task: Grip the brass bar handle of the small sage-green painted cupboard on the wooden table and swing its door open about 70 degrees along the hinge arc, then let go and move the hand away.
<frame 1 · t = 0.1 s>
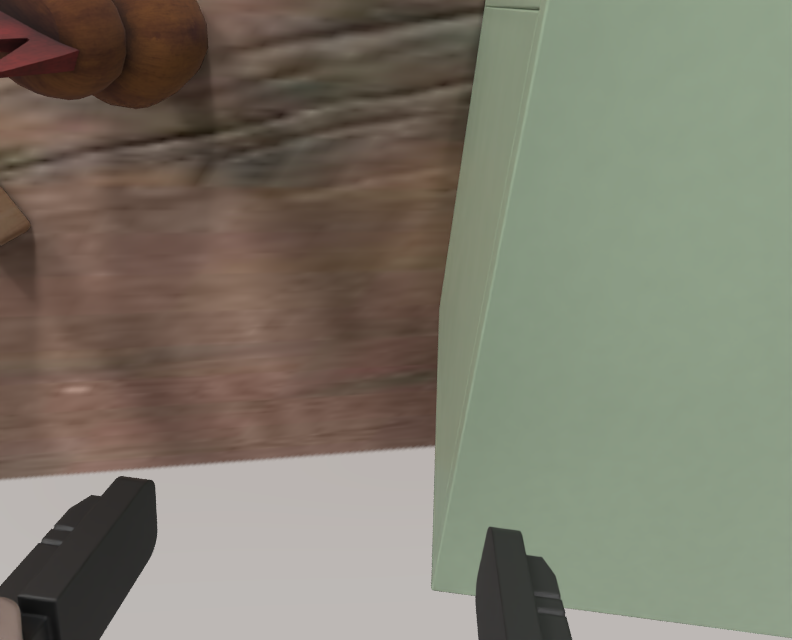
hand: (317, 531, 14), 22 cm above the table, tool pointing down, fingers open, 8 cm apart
cupboard: (568, 183, 31), on the table
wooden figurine: (164, 21, 29), on the table
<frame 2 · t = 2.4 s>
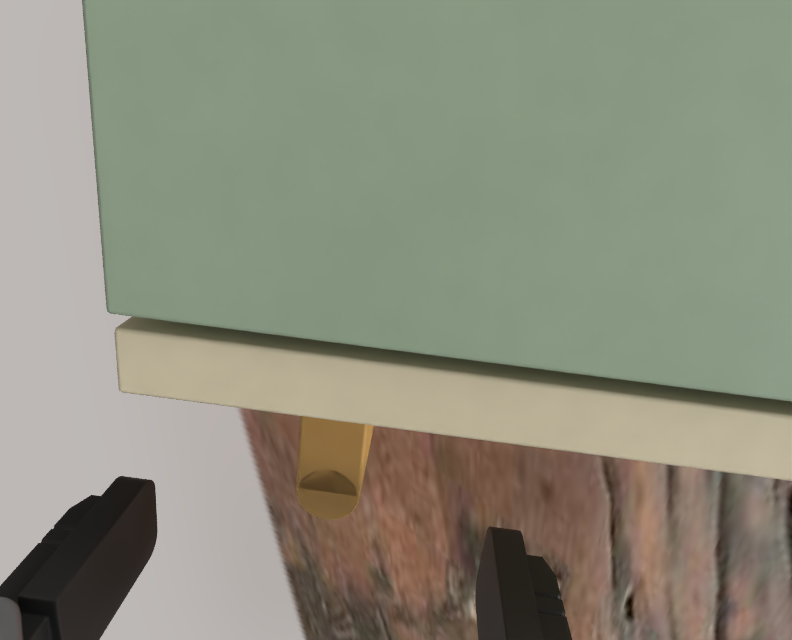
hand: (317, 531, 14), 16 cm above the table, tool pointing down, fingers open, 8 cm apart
cupboard: (564, 39, 23), on the table
cupboard door: (562, 349, 18), point 10 cm above the table, hinge at 0.0°
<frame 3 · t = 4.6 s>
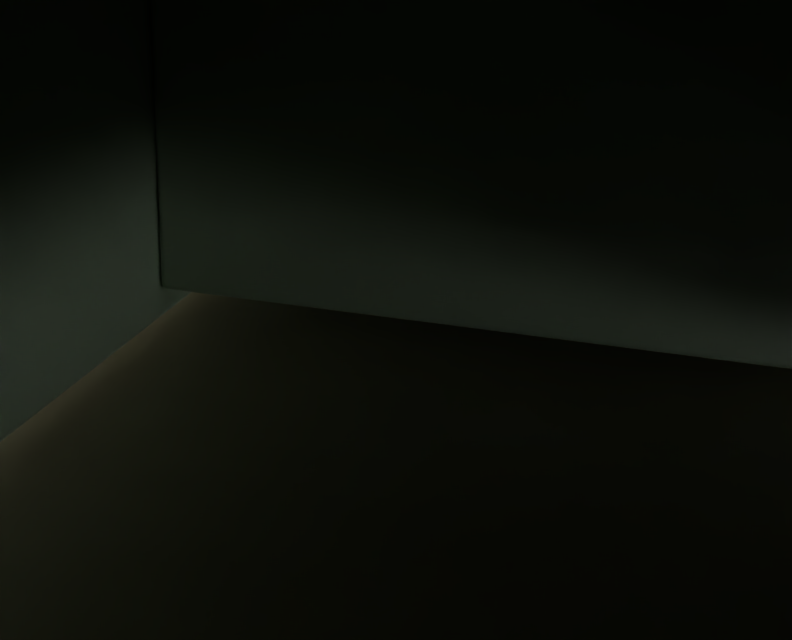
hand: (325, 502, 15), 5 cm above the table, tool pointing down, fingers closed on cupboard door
cupboard door: (686, 592, 9), point 10 cm above the table, hinge at 0.0°, touching gripper
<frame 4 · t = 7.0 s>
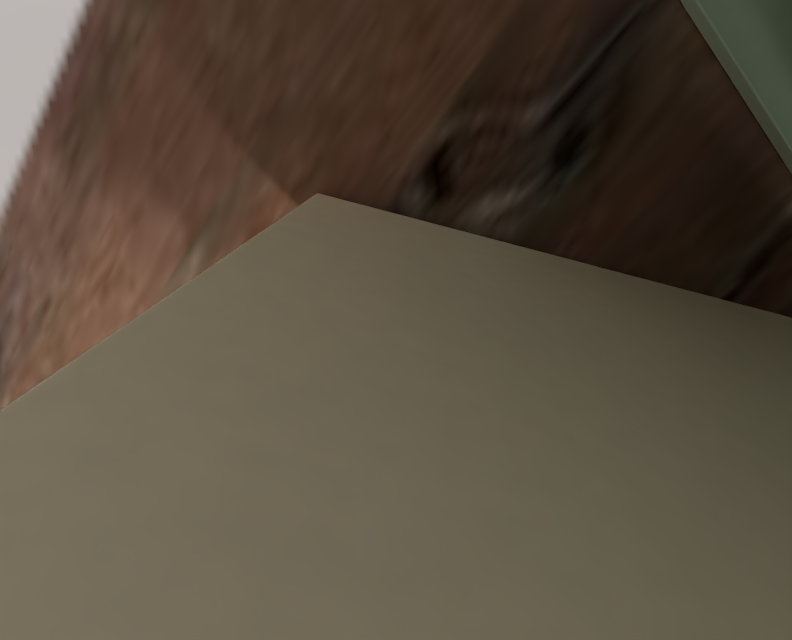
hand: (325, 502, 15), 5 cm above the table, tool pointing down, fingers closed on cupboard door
cupboard door: (691, 625, 9), point 10 cm above the table, hinge at 35.0°, touching gripper
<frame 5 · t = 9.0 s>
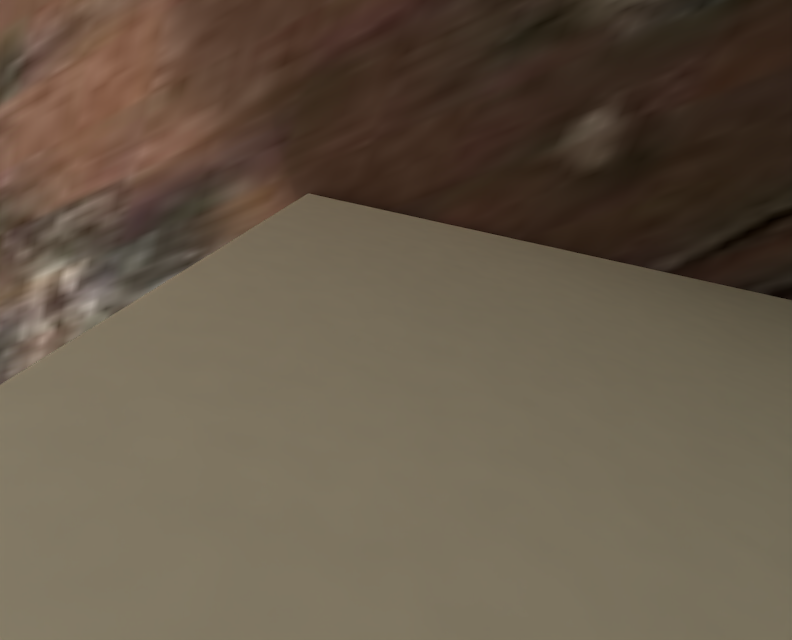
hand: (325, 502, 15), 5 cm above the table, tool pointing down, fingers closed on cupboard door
cupboard door: (694, 606, 9), point 10 cm above the table, hinge at 64.5°, touching gripper
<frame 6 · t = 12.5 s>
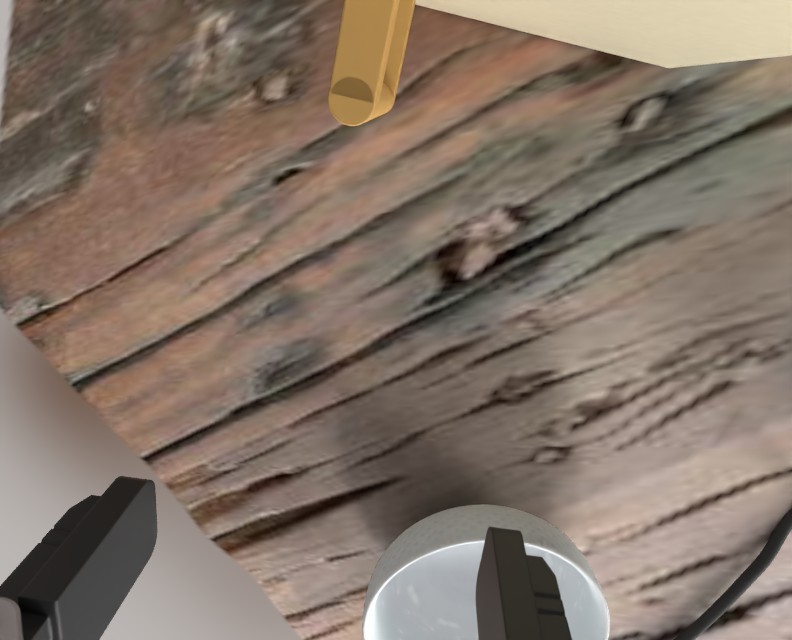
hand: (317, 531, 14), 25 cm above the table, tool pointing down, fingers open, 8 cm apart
cereal bowl: (476, 556, 45), on the table
cupboard door: (531, 69, 23), point 10 cm above the table, hinge at 64.7°
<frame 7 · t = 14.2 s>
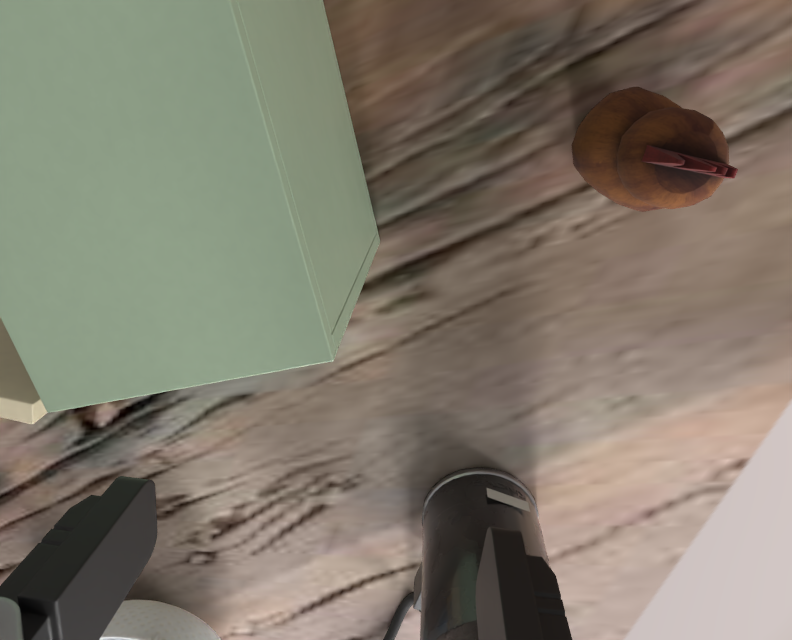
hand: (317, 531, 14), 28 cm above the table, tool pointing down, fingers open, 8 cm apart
cereal bowl: (166, 635, 55), on the table
cupboard: (261, 131, 37), on the table
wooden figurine: (612, 145, 36), on the table
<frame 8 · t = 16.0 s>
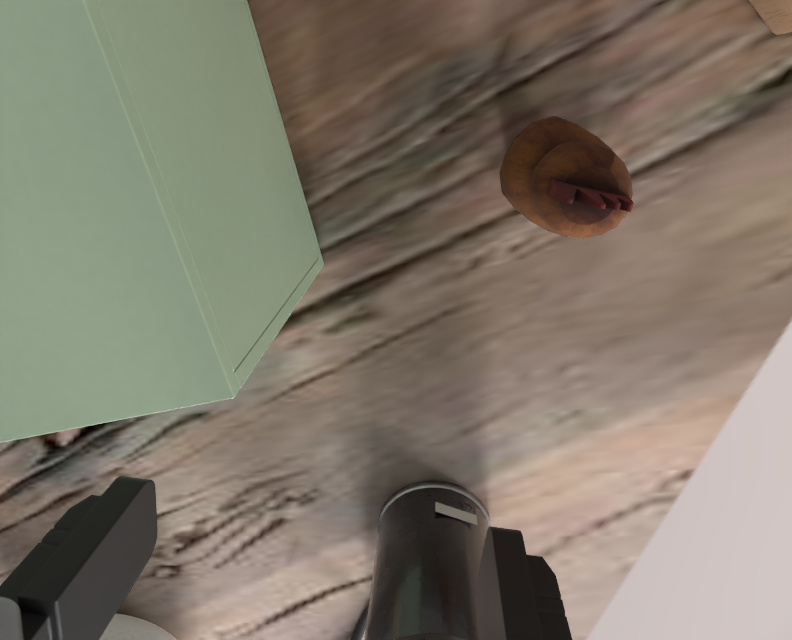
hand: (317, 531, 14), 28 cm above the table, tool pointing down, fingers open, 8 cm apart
cupboard: (203, 160, 38), on the table
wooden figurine: (545, 169, 37), on the table
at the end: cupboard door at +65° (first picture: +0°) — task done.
